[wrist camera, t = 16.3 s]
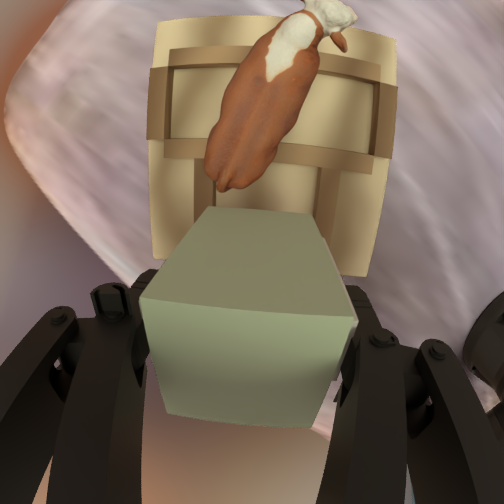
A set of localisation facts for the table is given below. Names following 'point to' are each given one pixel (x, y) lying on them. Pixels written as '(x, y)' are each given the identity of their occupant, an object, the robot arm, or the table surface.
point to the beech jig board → (291, 146)
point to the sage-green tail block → (247, 319)
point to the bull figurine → (270, 93)
